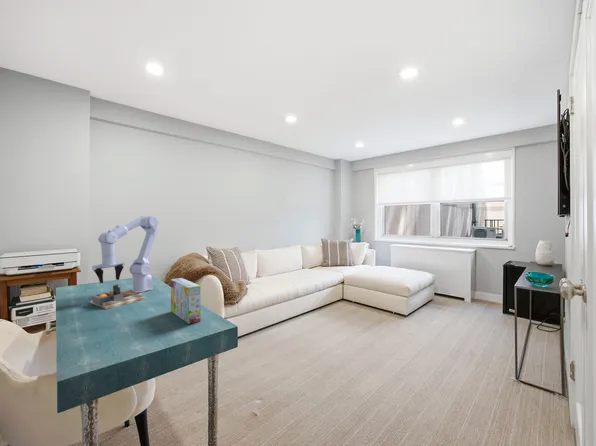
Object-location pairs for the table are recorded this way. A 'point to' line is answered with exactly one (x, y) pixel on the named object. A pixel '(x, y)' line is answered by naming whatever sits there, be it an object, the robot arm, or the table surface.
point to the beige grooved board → (127, 298)
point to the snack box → (186, 300)
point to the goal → (100, 299)
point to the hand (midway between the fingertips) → (109, 281)
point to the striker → (115, 293)
